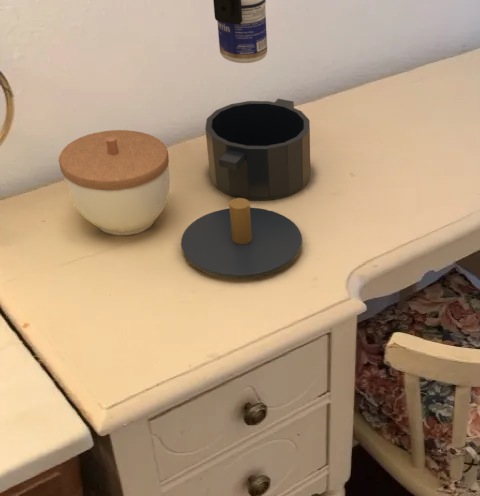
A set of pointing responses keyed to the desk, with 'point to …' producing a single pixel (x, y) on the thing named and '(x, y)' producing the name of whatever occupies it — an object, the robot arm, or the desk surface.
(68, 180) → the lidded bowl
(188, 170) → the desk surface
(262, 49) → the pill bottle
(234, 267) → the pan lid
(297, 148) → the pan
